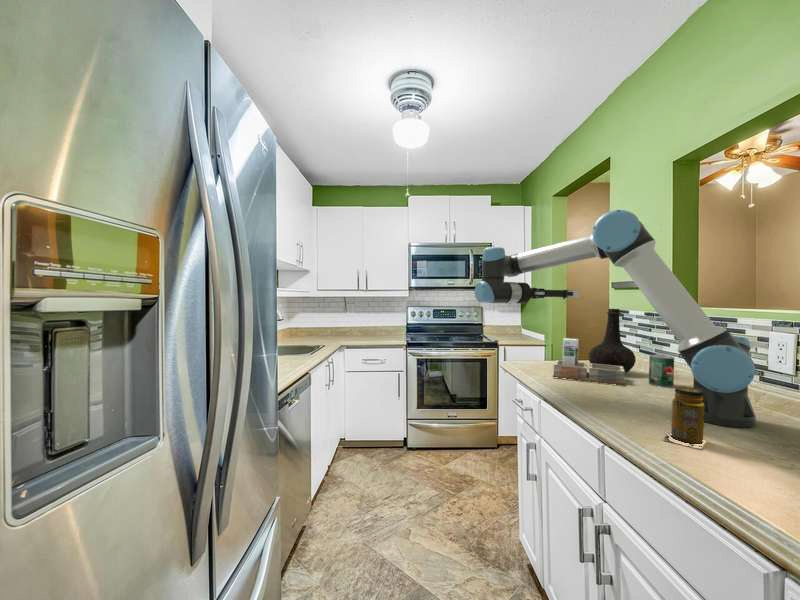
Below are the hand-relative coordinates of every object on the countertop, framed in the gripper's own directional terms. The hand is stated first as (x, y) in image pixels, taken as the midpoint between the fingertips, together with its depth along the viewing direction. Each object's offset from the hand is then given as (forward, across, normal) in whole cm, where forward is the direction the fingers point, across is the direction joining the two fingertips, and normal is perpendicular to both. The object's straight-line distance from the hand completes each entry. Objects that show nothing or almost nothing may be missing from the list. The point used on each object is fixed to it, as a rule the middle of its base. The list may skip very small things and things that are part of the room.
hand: (564, 293), depth 145 cm
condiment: (-12, +54, -34) cm, 66 cm away
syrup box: (+13, -10, -33) cm, 37 cm away
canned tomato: (+36, +11, -34) cm, 51 cm away
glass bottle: (+36, -11, -34) cm, 51 cm away
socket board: (+17, -5, -34) cm, 38 cm away
